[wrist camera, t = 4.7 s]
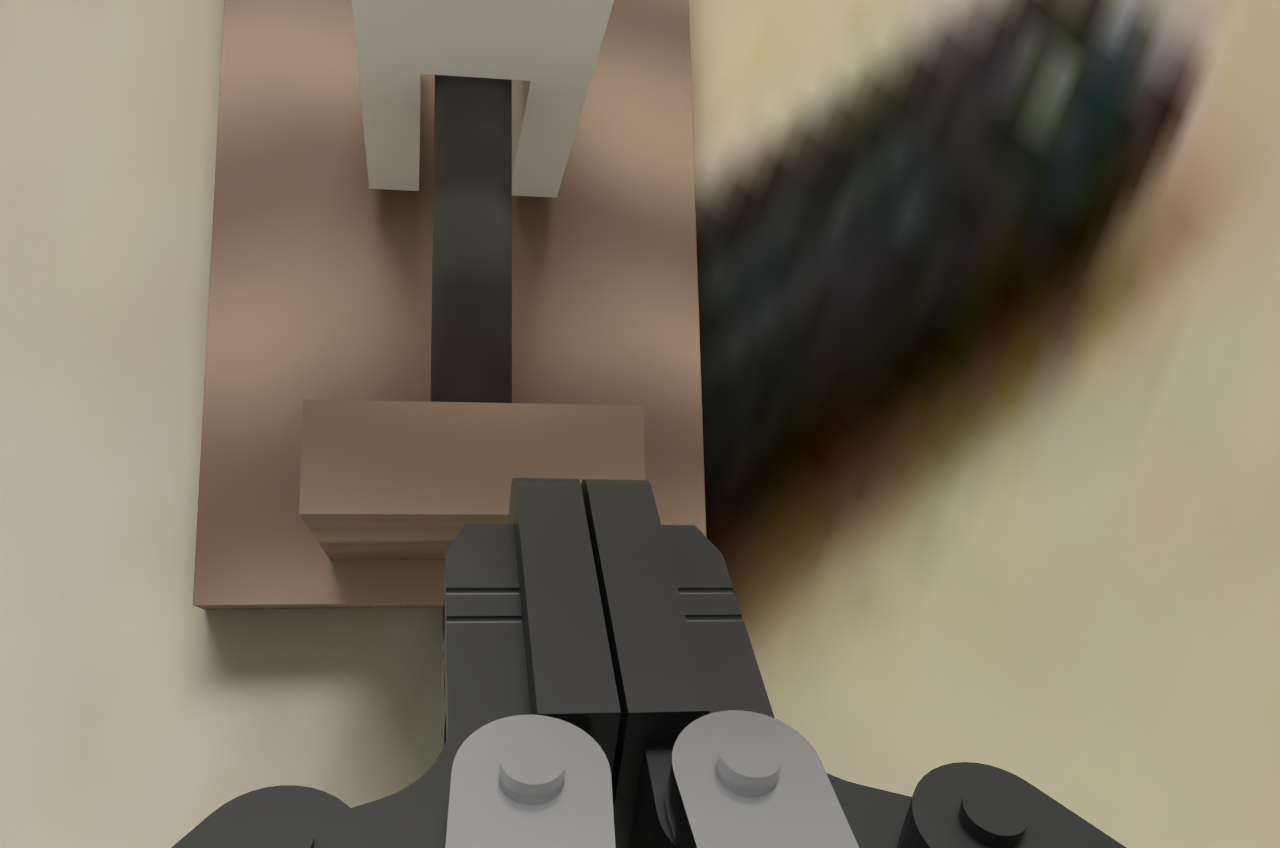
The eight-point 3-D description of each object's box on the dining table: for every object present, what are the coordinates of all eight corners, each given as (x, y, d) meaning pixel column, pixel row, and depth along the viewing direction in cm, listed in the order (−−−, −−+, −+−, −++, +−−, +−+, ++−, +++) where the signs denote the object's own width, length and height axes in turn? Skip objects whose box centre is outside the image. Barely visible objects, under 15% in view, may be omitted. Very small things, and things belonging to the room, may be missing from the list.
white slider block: (556, 197, 31) (630, -60, 20) (369, 188, 30) (343, -85, 19) (555, 51, 32) (626, -269, 21) (373, 39, 31) (351, -301, 20)
